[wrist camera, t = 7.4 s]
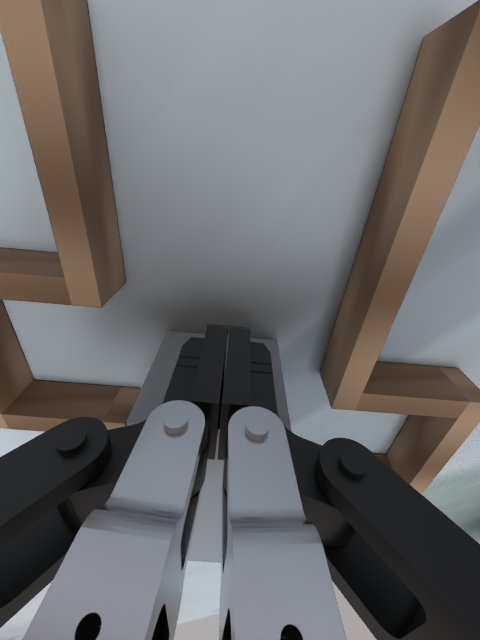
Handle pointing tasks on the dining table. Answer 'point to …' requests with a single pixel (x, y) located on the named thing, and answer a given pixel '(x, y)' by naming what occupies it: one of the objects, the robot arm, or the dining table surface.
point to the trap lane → (366, 276)
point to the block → (210, 504)
